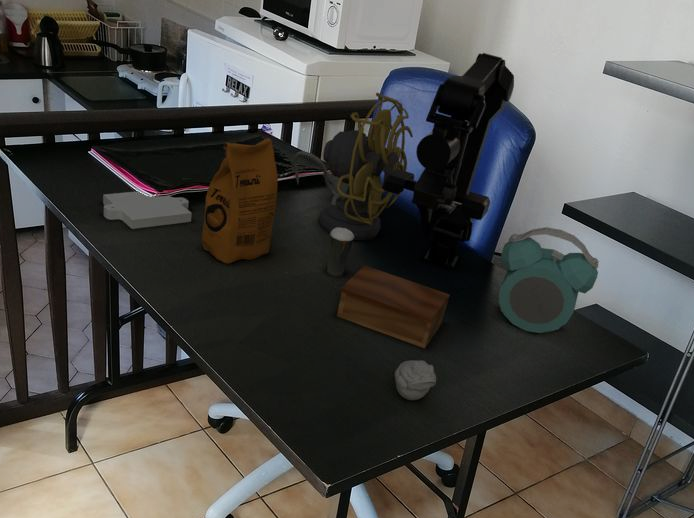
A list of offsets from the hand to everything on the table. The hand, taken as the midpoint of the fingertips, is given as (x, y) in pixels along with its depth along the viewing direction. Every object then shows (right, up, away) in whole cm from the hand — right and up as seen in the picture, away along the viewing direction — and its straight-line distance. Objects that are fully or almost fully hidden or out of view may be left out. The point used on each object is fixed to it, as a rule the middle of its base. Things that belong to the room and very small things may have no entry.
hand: (425, 237), depth 140 cm
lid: (-6, -11, -7) cm, 14 cm away
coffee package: (-37, -2, +8) cm, 38 cm away
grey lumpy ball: (-5, -28, -24) cm, 37 cm away
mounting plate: (-56, +7, +16) cm, 58 cm away
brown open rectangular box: (-7, -15, -4) cm, 17 cm away
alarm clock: (+20, -16, +5) cm, 26 cm away
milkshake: (-17, -6, +9) cm, 20 cm away
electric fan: (-21, +9, +33) cm, 40 cm away
